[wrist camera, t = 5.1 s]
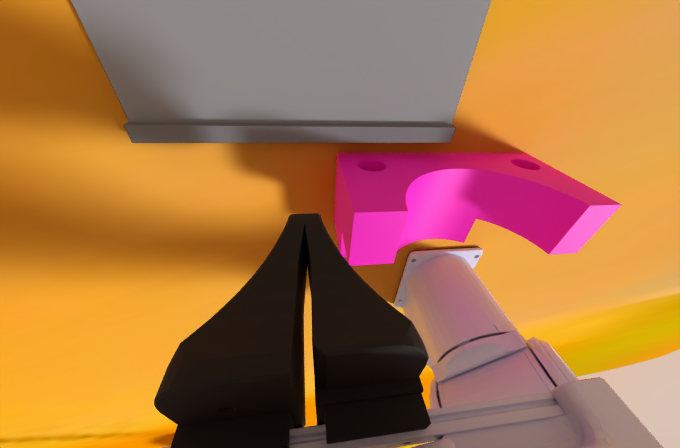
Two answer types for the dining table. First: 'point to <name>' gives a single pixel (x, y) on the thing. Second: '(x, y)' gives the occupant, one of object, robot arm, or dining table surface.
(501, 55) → the dining table surface
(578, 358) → the dining table surface
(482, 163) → the toy block
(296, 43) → the rubber mat
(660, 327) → the dining table surface
